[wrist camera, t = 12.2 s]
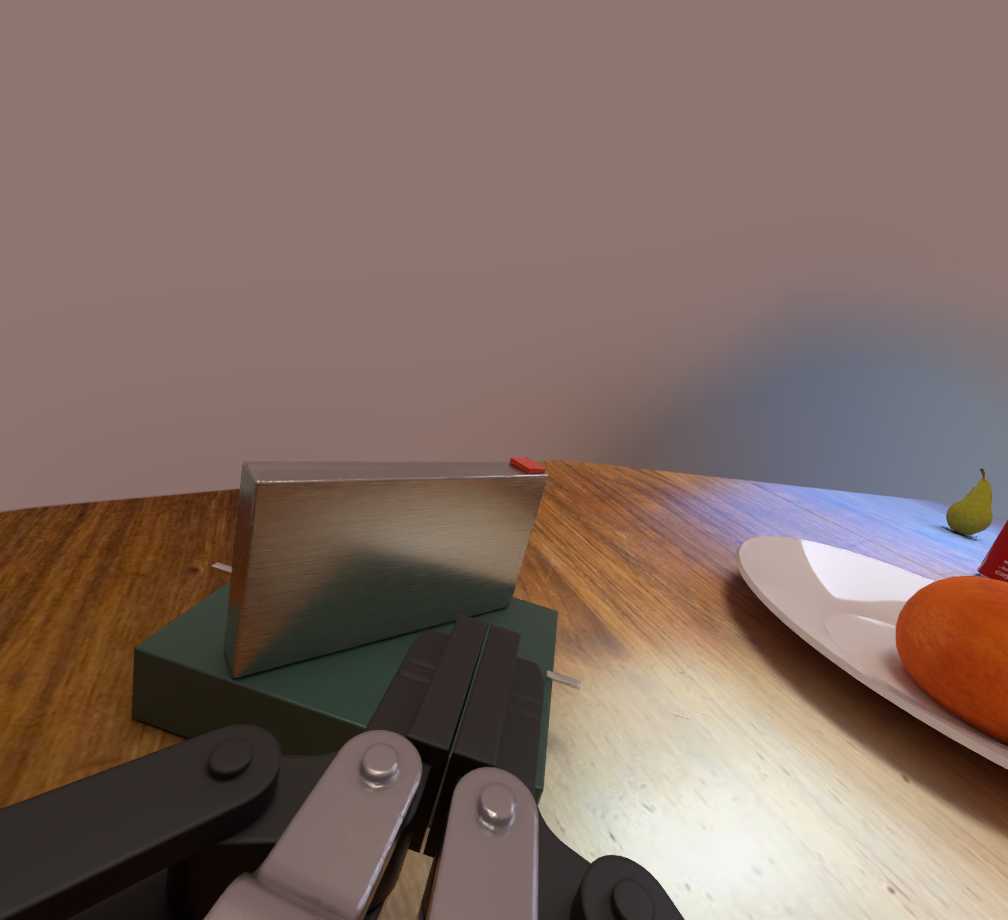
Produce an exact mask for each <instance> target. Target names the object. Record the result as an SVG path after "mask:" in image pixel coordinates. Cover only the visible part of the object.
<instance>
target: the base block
mask: <svg viewBox="0 0 1008 920" xmlns="http://www.w3.org/2000/svg"><path fill="white" fill-rule="evenodd" d="M211 569H213V570H216V571H219V572H222V573H225V574H228V575H231V572H232V567H230V566H227V565H224V564H221V563H218V562H217V563H216V564H214V565H213V566H212V567H211ZM230 582H231V581H230ZM230 582H228V583H227V584H225V585H224V586H222V587H221V588H220V589H218V590H217V591H215V592H214V593H212V594H211V595H209V596H208V597H207V598H205V599H204V600H202V601H201V602H199V603H198V604H197V605H195V606H194V607H192V608H191V609H189V610H188V611H187V612H185V613H184V614H182V615H181V616H179V617H178V618H176V619H175V620H174V621H172V622H171V623H169V624H168V625H166V626H165V627H164V628H162V629H161V630H159V631H158V632H156V633H155V634H153V635H152V636H151V637H149V638H148V639H146V640H145V641H143V642H142V643H141V644H139V645H138V646H136V647H135V649H134V671H133V696H132V717H133V718H134V719H137V720H140V721H143V722H145V723H148V724H151V725H154V726H156V727H159V728H162V729H165V730H167V731H170V732H173V733H176V734H179V735H181V736H184V737H187V738H190V739H192V738H194V737H197V736H200V735H202V734H205V733H208V732H211V731H213V730H216V729H219V728H222V727H225V726H230V725H238V724H247V725H254V726H259V727H261V728H263V729H266V730H267V731H269V732H270V733H271V734H272V735H273V736H274V737H275V738H276V739H277V741H278V742H279V745H280V748H281V755H310V756H311V755H323V754H329V753H332V752H336V751H338V750H340V749H341V748H342V747H343V746H344V745H345V744H346V743H347V742H348V741H349V740H350V739H352V738H353V737H355V736H357V735H359V734H361V733H363V731H364V730H365V728H366V727H367V725H368V723H369V721H370V719H371V718H372V716H373V714H374V712H375V710H376V709H377V707H378V705H379V703H380V701H381V699H382V698H383V696H384V694H385V692H386V690H387V688H388V687H389V685H390V683H391V681H392V679H393V677H394V676H395V674H396V673H397V670H398V668H399V666H400V665H401V663H402V661H403V660H404V658H405V655H406V654H407V652H408V650H409V648H410V646H411V644H412V643H413V641H414V640H415V639H416V638H418V637H419V636H420V635H422V634H423V633H425V632H426V631H428V630H429V629H432V630H435V631H438V632H441V633H445V634H448V635H450V633H451V631H452V629H453V626H454V624H455V622H456V620H455V621H452V622H448V623H444V624H440V625H437V626H433V627H429V628H425V629H421V630H418V631H414V632H410V633H406V634H403V635H399V636H395V637H391V638H387V639H384V640H380V641H376V642H372V643H368V644H365V645H361V646H357V647H353V648H350V649H346V650H342V651H338V652H334V653H331V654H327V655H323V656H319V657H316V658H312V659H308V660H304V661H300V662H297V663H293V664H289V665H285V666H281V667H278V668H274V669H270V670H266V671H263V672H259V673H255V674H251V675H247V676H244V677H240V678H236V679H235V678H233V677H232V674H231V670H230V667H229V664H228V661H227V657H226V654H225V651H224V640H225V630H226V620H227V611H228V601H229V591H230ZM470 618H473V619H476V620H479V621H483V622H486V623H489V624H488V628H487V632H486V635H485V639H484V642H483V646H482V649H481V653H480V656H479V660H478V663H477V667H476V670H475V674H474V677H473V681H472V684H471V687H470V691H469V694H468V697H467V701H466V704H465V707H464V711H463V714H462V717H461V720H460V723H459V727H458V730H457V733H456V736H455V740H454V743H453V746H452V749H451V752H450V756H449V759H448V762H447V765H446V769H445V772H444V775H443V778H442V782H441V785H440V788H439V791H438V794H437V798H436V801H435V804H434V807H433V811H432V814H431V817H430V820H429V823H428V825H430V826H431V825H432V821H433V818H434V814H435V811H436V807H437V804H438V800H439V797H440V793H441V790H442V786H443V783H444V779H445V776H446V772H447V769H448V765H449V762H450V758H451V755H452V751H453V748H454V745H455V742H456V738H457V735H458V732H459V729H460V725H461V722H462V719H463V715H464V712H465V709H466V706H467V702H468V699H469V696H470V693H471V689H472V686H473V683H474V679H475V676H476V673H477V670H478V666H479V663H480V660H481V657H482V653H483V650H484V647H485V643H486V640H487V637H488V634H489V630H490V627H491V624H492V625H496V626H499V627H502V628H505V629H508V630H511V631H514V632H517V633H521V638H520V643H519V648H518V654H517V657H519V658H522V659H525V660H528V661H531V662H534V663H538V666H539V668H540V671H541V673H542V676H543V679H544V681H545V689H544V699H543V705H542V706H543V709H542V718H541V729H540V740H539V750H538V760H537V770H536V780H535V797H536V802H537V806H538V803H539V800H540V798H541V795H542V792H543V788H544V776H545V764H546V752H547V739H548V727H549V715H550V703H551V691H552V681H553V682H556V683H560V684H563V685H566V686H569V687H572V688H575V689H578V690H579V689H580V681H579V680H576V679H573V678H570V677H567V676H563V675H560V674H557V673H554V672H553V667H554V654H555V642H556V630H557V618H558V612H557V611H555V610H552V609H549V608H546V607H543V606H539V605H536V604H533V603H530V602H527V601H524V600H520V599H517V598H514V597H512V600H511V603H510V606H508V607H505V608H501V609H497V610H493V611H490V612H486V613H482V614H478V615H474V616H471V617H470Z"/></svg>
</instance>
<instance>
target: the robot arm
mask: <svg viewBox="0 0 1008 920" xmlns="http://www.w3.org/2000/svg"><path fill="white" fill-rule="evenodd" d="M488 624H489V623H486V622H483V621H479V620H476V619H473V618H470V617H467V616H464V615H461V614H459V615H458V617H457V620H456V622H455V624H454V626H453V629H452V631H451V633H450V635H448V634H445V633H441V632H438V631H435V630H432V629H429V630H428V631H426V632H425V633H423V634H422V635H420V636H419V637H418V638H416V639H415V640H414V641H413V643H412V644H411V646H410V648H409V650H408V652H407V654H406V655H405V658H404V660H403V661H402V663H401V665H400V666H399V668H398V670H397V673H396V674H395V676H394V677H393V679H392V681H391V683H390V685H389V687H388V688H387V690H386V692H385V694H384V696H383V698H382V699H381V701H380V703H379V705H378V707H377V709H376V710H375V712H374V714H373V716H372V718H371V719H370V721H369V723H368V725H367V727H366V728H365V730H364V731H363V733H361V734H359V735H357V736H355V737H353V738H352V739H350V740H349V741H348V742H347V743H346V744H345V745H344V746H343V747H342V748H341V749H340V750H338V751H336V752H332V753H329V754H323V755H311V756H310V755H281V748H280V745H279V742H278V741H277V739H276V738H275V737H274V736H273V735H272V734H271V733H270V732H269V731H267V730H266V729H263V728H261V727H259V726H254V725H247V724H238V725H230V726H225V727H222V728H219V729H216V730H213V731H211V732H208V733H205V734H202V735H200V736H197V737H194V738H192V739H189V740H186V741H183V742H181V743H178V744H175V745H173V746H170V747H167V748H165V749H162V750H159V751H156V752H154V753H151V754H148V755H146V756H143V757H140V758H137V759H135V760H132V761H129V762H127V763H124V764H121V765H119V766H116V767H113V768H110V769H108V770H105V771H102V772H100V773H97V774H94V775H92V776H89V777H86V778H83V779H81V780H78V781H75V782H73V783H70V784H67V785H64V786H62V787H59V788H56V789H54V790H51V791H48V792H46V793H43V794H40V795H37V796H35V797H32V798H29V799H27V800H24V801H21V802H18V803H16V804H13V805H10V806H8V807H5V808H2V809H0V920H380V919H381V917H382V914H383V912H384V909H385V907H386V904H387V902H388V899H389V896H390V893H391V892H392V890H393V888H394V887H395V885H396V882H397V880H398V877H399V874H400V871H401V868H402V865H403V862H404V859H405V857H406V854H407V851H408V849H410V850H413V851H416V852H418V853H420V849H421V846H422V843H423V840H424V836H425V833H426V830H427V827H428V823H429V820H430V817H431V814H432V811H433V807H434V804H435V801H436V798H437V794H438V791H439V788H440V785H441V782H442V778H443V775H444V772H445V769H446V765H447V762H448V759H449V756H450V752H451V749H452V746H453V743H454V740H455V736H456V733H457V730H458V727H459V723H460V720H461V717H462V714H463V711H464V707H465V704H466V701H467V697H468V694H469V691H470V687H471V684H472V681H473V677H474V674H475V670H476V667H477V663H478V660H479V656H480V653H481V649H482V646H483V642H484V639H485V635H486V632H487V628H488ZM520 638H521V633H517V632H514V631H511V630H508V629H505V628H502V627H499V626H496V625H492V624H491V627H490V630H489V634H488V637H487V640H486V643H485V647H484V650H483V653H482V657H481V660H480V663H479V666H478V670H477V673H476V676H475V679H474V683H473V686H472V689H471V693H470V696H469V699H468V702H467V706H466V709H465V712H464V715H463V719H462V722H461V725H460V729H459V732H458V735H457V738H456V742H455V745H454V748H453V751H452V755H451V758H450V762H449V765H448V769H447V772H446V776H445V779H444V783H443V786H442V790H441V793H440V797H439V800H438V804H437V807H436V811H435V814H434V818H433V821H432V825H431V828H430V832H429V835H428V839H427V842H426V846H425V849H424V853H423V854H425V855H428V856H430V857H433V858H434V859H433V862H432V866H431V870H430V873H429V877H428V880H427V884H426V888H425V891H424V895H423V898H422V902H421V905H420V908H419V912H418V915H417V920H684V918H683V917H682V915H681V914H680V912H679V911H678V909H677V908H676V906H675V905H674V903H673V902H672V900H671V899H670V898H669V896H668V895H667V893H666V892H665V890H664V889H663V888H662V886H661V885H660V884H659V882H658V881H657V880H656V879H655V878H654V877H653V876H652V875H651V874H650V873H649V872H648V871H647V870H646V869H645V868H643V867H642V866H641V865H639V864H637V863H636V862H634V861H632V860H630V859H628V858H625V857H622V856H616V855H607V856H603V857H600V858H598V859H596V860H595V861H593V862H592V863H589V862H588V861H587V860H585V859H584V858H583V857H581V856H580V855H579V854H577V853H576V852H575V851H573V850H572V849H570V848H569V847H568V846H566V845H565V844H564V843H563V842H562V841H560V840H559V839H558V838H557V837H556V836H555V835H554V833H553V832H552V831H551V830H550V829H549V827H548V826H547V824H546V823H545V821H544V819H543V818H542V816H541V813H540V811H539V809H538V806H537V802H536V797H535V780H536V770H537V760H538V750H539V740H540V729H541V718H542V709H543V706H542V705H543V699H544V689H545V681H544V679H543V676H542V673H541V671H540V668H539V666H538V663H534V662H531V661H528V660H525V659H522V658H519V657H517V654H518V648H519V643H520Z"/></svg>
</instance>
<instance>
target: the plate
mask: <svg viewBox="0 0 1008 920" xmlns="http://www.w3.org/2000/svg"><path fill="white" fill-rule="evenodd" d="M735 557H736V564H737V567H738V570H739V572H740V573H741V575H742V577H743V579H744V580H745V582H746V583H747V584H748V586H749V587H750V589H751V590H752V591H753V592H754V593H755V594H756V596H757V597H758V598H759V599H760V600H761V601H762V602H763V603H764V604H765V605H766V606H767V607H768V608H769V609H770V610H771V611H772V612H773V613H774V614H775V615H776V616H777V617H778V618H779V619H780V620H781V621H782V622H784V623H785V624H786V625H787V626H788V627H789V628H790V629H792V630H793V631H794V632H795V633H796V634H798V635H799V636H800V637H801V638H802V639H803V640H805V641H806V642H807V643H808V644H810V645H811V646H812V647H814V648H815V649H816V650H818V651H819V652H820V653H821V654H823V655H824V656H825V657H827V658H828V659H829V660H831V661H832V662H833V663H835V664H836V665H838V666H839V667H840V668H842V669H843V670H845V671H846V672H847V673H849V674H850V675H852V676H853V677H854V678H856V679H857V680H859V681H860V682H862V683H863V684H865V685H866V686H868V687H869V688H871V689H872V690H874V691H875V692H877V693H878V694H880V695H881V696H883V697H884V698H886V699H887V700H889V701H890V702H892V703H894V704H895V705H897V706H898V707H900V708H902V709H903V710H905V711H906V712H908V713H909V714H911V715H913V716H914V717H916V718H917V719H919V720H921V721H923V722H924V723H926V724H928V725H929V726H931V727H933V728H934V729H936V730H938V731H939V732H941V733H943V734H944V735H946V736H948V737H949V738H951V739H953V740H955V741H956V742H958V743H960V744H962V745H964V746H965V747H967V748H969V749H971V750H973V751H974V752H976V753H978V754H980V755H982V756H983V757H985V758H987V759H989V760H990V761H992V762H994V763H996V764H998V765H1000V766H1002V767H1004V768H1006V769H1008V582H1004V581H999V580H994V579H990V578H985V577H979V576H961V577H950V578H947V579H943V580H939V581H936V582H934V581H932V580H929V579H927V578H924V577H922V576H919V575H916V574H914V573H911V572H909V571H906V570H903V569H901V568H898V567H895V566H892V565H890V564H887V563H884V562H881V561H878V560H875V559H872V558H869V557H866V556H863V555H860V554H857V553H853V552H850V551H847V550H843V549H840V548H836V547H833V546H829V545H825V544H821V543H816V542H812V541H807V540H802V539H796V538H789V537H779V536H762V537H755V538H752V539H749V540H747V541H745V542H744V543H743V544H742V545H741V546H740V547H739V548H738V550H737V551H736V555H735Z"/></svg>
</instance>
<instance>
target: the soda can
mask: <svg viewBox="0 0 1008 920" xmlns="http://www.w3.org/2000/svg"><path fill="white" fill-rule="evenodd" d="M978 572H979V573H980V576H981V577H985V578H990V579H994V580H999V581H1004V582H1008V521H1007V522H1006V524H1005V525H1004V527H1003V529H1002V530H1001V532H1000V534H999V535H998V537H997V539H996V540H995V542H994V544H993V545H992V547H991V549H990V550H989V552H988V554H987V555H986V557H985V558H984V560H983V562H982V563H981V565H980V567H979V568H978Z"/></svg>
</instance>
